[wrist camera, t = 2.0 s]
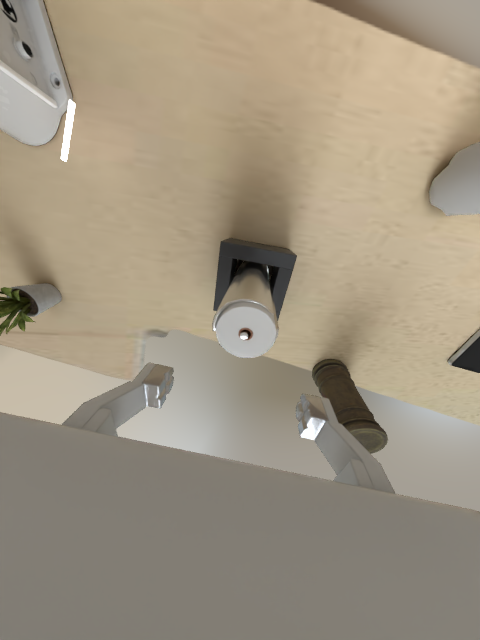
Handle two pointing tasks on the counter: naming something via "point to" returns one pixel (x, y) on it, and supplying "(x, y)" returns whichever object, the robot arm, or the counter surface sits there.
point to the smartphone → (468, 355)
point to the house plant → (26, 303)
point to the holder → (258, 254)
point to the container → (348, 404)
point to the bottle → (459, 184)
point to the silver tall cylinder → (247, 313)
